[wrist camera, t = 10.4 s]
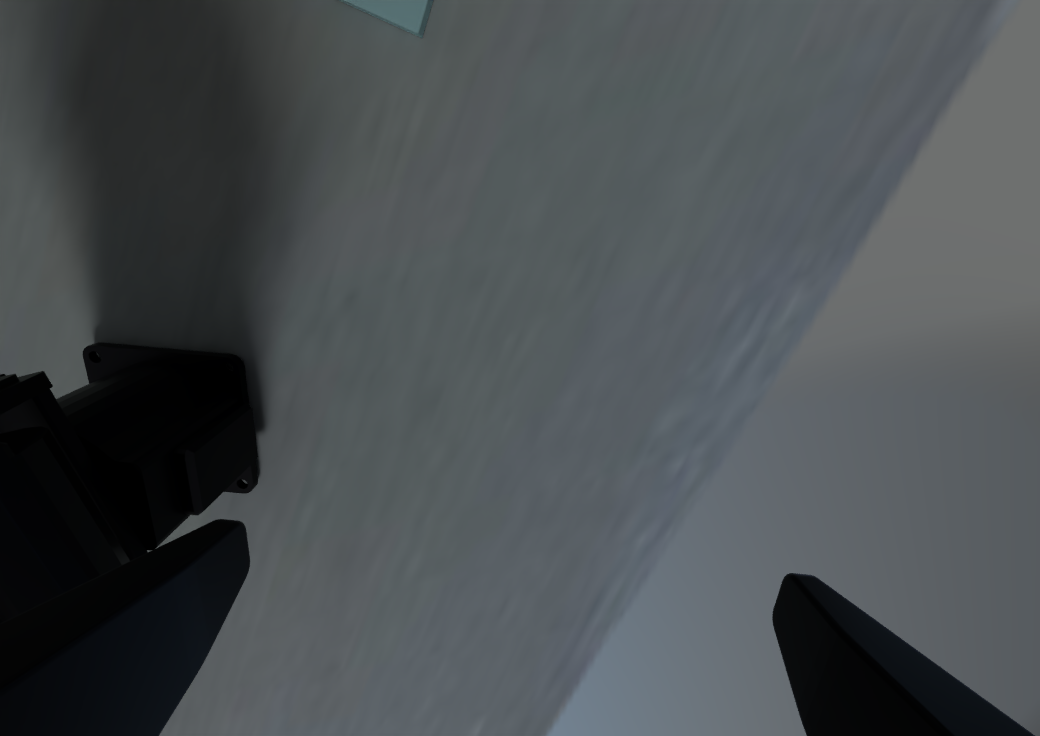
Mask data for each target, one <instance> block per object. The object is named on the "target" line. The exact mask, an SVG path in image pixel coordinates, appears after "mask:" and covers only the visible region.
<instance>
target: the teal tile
mask: <svg viewBox="0 0 1040 736" xmlns="http://www.w3.org/2000/svg"><path fill="white" fill-rule="evenodd" d="M339 1H341V2H343V3H346V4H348V5H350V6H352V7H354V8H357V9H359V10H361V11H363V12H365V13H368V14H370V15H372V16H374V17H376V18H379V19H381V20H383V21H385V22H387V23H390V24H392V25H394V26H396V27H398V28H401V29H403V30H405V31H407V32H409V33H411V34H414V35H416V36H418V37H420V38H422V37H423V34H424V31H425V27H426V24H427V20H428V17H429V13H430V10H431V7H432V3H433V0H339Z"/></svg>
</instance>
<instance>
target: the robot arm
mask: <svg viewBox="0 0 1040 736" xmlns="http://www.w3.org/2000/svg"><path fill="white" fill-rule="evenodd" d="M97 353H98V354H99V355H100V356H101V359H100V358H99V357H98V355H97ZM83 358H84V363H85V367H86V371H87V376H88V380H89V384H88V385H86V386H84V387H82V388H79V389H77V390H75V391H73V392H71V393H69V394H66V395H64V396H62V397H60V398H58V399H56V398H55V397H54V395H53V393H52V392H51V390H50V388H51V387H53V386H52V384H51V382H50V381H49V379H48V377H47V376H46V374H45V372H44V371H41V372H37V373H33V374H29V375H25V376H21V377H17V376H16V374H12V375H7V376H6V375H5V374H1V375H0V736H159V735H160V733H161V731H162V730H163V728H164V726H165V725H166V723H167V722H168V720H169V718H170V717H171V715H172V714H173V712H174V710H175V709H176V707H177V706H178V704H179V702H180V701H181V699H182V697H183V696H184V694H185V693H186V691H187V689H188V688H189V686H190V685H191V683H192V681H193V680H194V678H195V676H196V675H197V673H198V671H199V670H200V668H201V666H202V664H203V663H204V661H205V659H206V657H207V655H208V653H209V651H210V649H211V647H212V645H213V643H214V641H215V639H216V637H217V635H218V633H219V631H220V629H221V627H222V625H223V623H224V621H225V619H226V617H227V615H228V613H229V611H230V609H231V607H232V605H233V603H234V601H235V599H236V597H237V595H238V593H239V591H240V589H241V587H242V585H243V583H244V581H245V579H246V577H247V574H248V571H249V567H250V556H249V548H248V541H247V533H246V528H245V525H244V524H243V523H242V522H240V521H235V520H224V519H218V520H215V521H212V522H210V523H208V524H206V525H204V526H202V527H200V528H198V529H196V530H194V531H192V532H189V533H187V534H185V535H183V536H181V537H179V538H177V539H175V540H173V541H171V542H169V543H167V544H165V545H162V546H160V547H158V548H156V547H157V546H159V545H160V544H161V543H162V542H163V541H164V540H165V539H166V538H167V537H168V536H169V535H170V534H171V533H172V532H173V531H174V530H175V529H176V528H177V527H178V526H179V525H180V524H182V523H183V522H184V521H185V520H186V519H187V518H188V517H189V516H190V515H199V514H201V513H202V512H203V511H204V510H205V509H206V508H207V507H208V506H209V505H210V504H211V503H212V502H213V501H214V500H215V499H217V498H218V497H219V496H220V495H221V494H222V493H223V492H233V493H249V492H251V491H252V490H253V489H254V487H255V486H256V485H257V484H258V476H257V468H256V459H257V457H258V455H257V446H256V438H255V429H254V420H253V412H252V408H251V406H250V405H249V400H248V392H247V384H246V375H245V367H244V363H243V361H242V360H241V359H240V358H239V357H238V356H236V355H233V354H224V353H213V352H201V351H190V350H178V349H167V348H156V347H144V346H133V345H121V344H110V343H95V344H92V345H90V346H87V347H86V348H84V350H83ZM227 363H228V364H230V365H231V366H232V367H233V371H231V370H229V369H228V368H227ZM242 479H243V480H245V481H246V482H247V483H248V484H246V483H244V482H243V481H242ZM155 548H156V549H155ZM147 550H152V551H150V552H147ZM773 626H774V630H775V633H776V637H777V640H778V644H779V647H780V650H781V654H782V657H783V660H784V664H785V667H786V671H787V674H788V677H789V681H790V684H791V688H792V691H793V694H794V698H795V702H796V705H797V708H798V711H799V715H800V718H801V721H802V724H803V726H804V729H805V732H806V735H807V736H1035V735H1033V734H1032V733H1031V732H1029V731H1028V730H1026V729H1025V728H1024V727H1022V726H1021V725H1020V724H1018V723H1017V722H1015V721H1014V720H1013V719H1011V718H1010V717H1009V716H1007V715H1006V714H1004V713H1003V712H1002V711H1000V710H999V709H997V708H996V707H995V706H993V705H992V704H991V703H989V702H988V701H986V700H985V699H984V698H982V697H981V696H979V695H978V694H977V693H975V692H974V691H973V690H971V689H970V688H969V687H967V686H966V685H964V684H963V683H962V682H960V681H959V680H957V679H956V678H955V677H953V676H952V675H950V674H949V673H948V672H946V671H945V670H943V669H942V668H941V667H940V666H938V665H937V664H935V663H934V662H933V661H931V660H930V659H928V658H927V657H926V656H924V655H923V654H921V653H920V652H918V651H917V650H916V649H915V648H913V647H912V646H910V645H909V644H908V643H906V642H905V641H904V640H902V639H901V638H900V637H898V636H897V635H895V634H894V633H893V632H891V631H890V630H888V629H887V628H886V627H884V626H883V625H881V624H880V623H879V622H877V621H876V620H875V619H873V618H872V617H870V616H869V615H868V614H866V613H865V612H864V611H862V610H861V609H859V608H858V607H857V606H855V605H854V604H853V603H851V602H850V601H848V600H847V599H846V598H844V597H843V596H842V595H840V594H839V593H837V592H836V591H835V590H833V589H832V588H831V587H829V586H828V585H826V584H825V583H824V582H822V581H821V580H819V579H818V578H816V577H815V576H812V575H806V574H796V573H790V574H787V575H786V576H785V577H784V579H783V581H782V584H781V587H780V591H779V594H778V597H777V600H776V603H775V606H774V609H773Z"/></svg>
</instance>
